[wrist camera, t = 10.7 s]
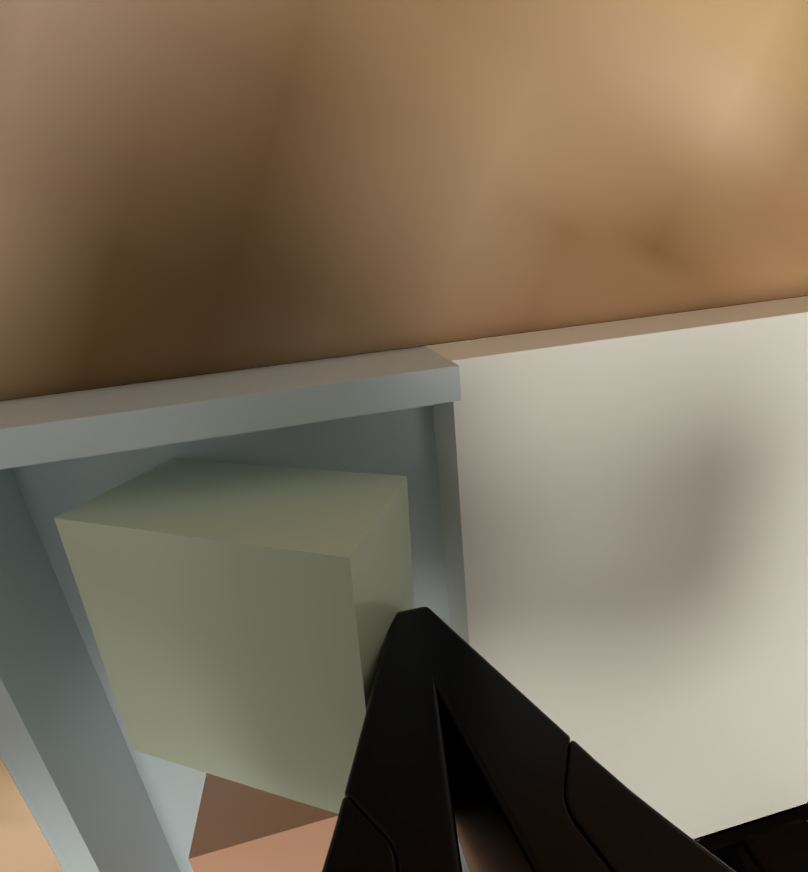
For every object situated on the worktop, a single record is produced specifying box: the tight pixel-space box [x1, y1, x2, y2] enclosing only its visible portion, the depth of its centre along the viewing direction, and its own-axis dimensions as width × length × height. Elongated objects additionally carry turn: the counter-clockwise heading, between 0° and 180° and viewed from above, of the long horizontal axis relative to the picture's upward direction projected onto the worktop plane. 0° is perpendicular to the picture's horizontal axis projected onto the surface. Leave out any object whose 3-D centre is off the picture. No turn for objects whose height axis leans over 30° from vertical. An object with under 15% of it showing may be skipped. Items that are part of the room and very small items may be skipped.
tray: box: [0, 346, 469, 872], centre depth 11 cm, size 16×9×2 cm, turn 6°
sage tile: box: [54, 459, 414, 814], centre depth 8 cm, size 5×5×2 cm
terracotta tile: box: [188, 773, 338, 872], centre depth 12 cm, size 5×5×2 cm
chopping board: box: [426, 296, 808, 839], centre depth 13 cm, size 16×11×2 cm
